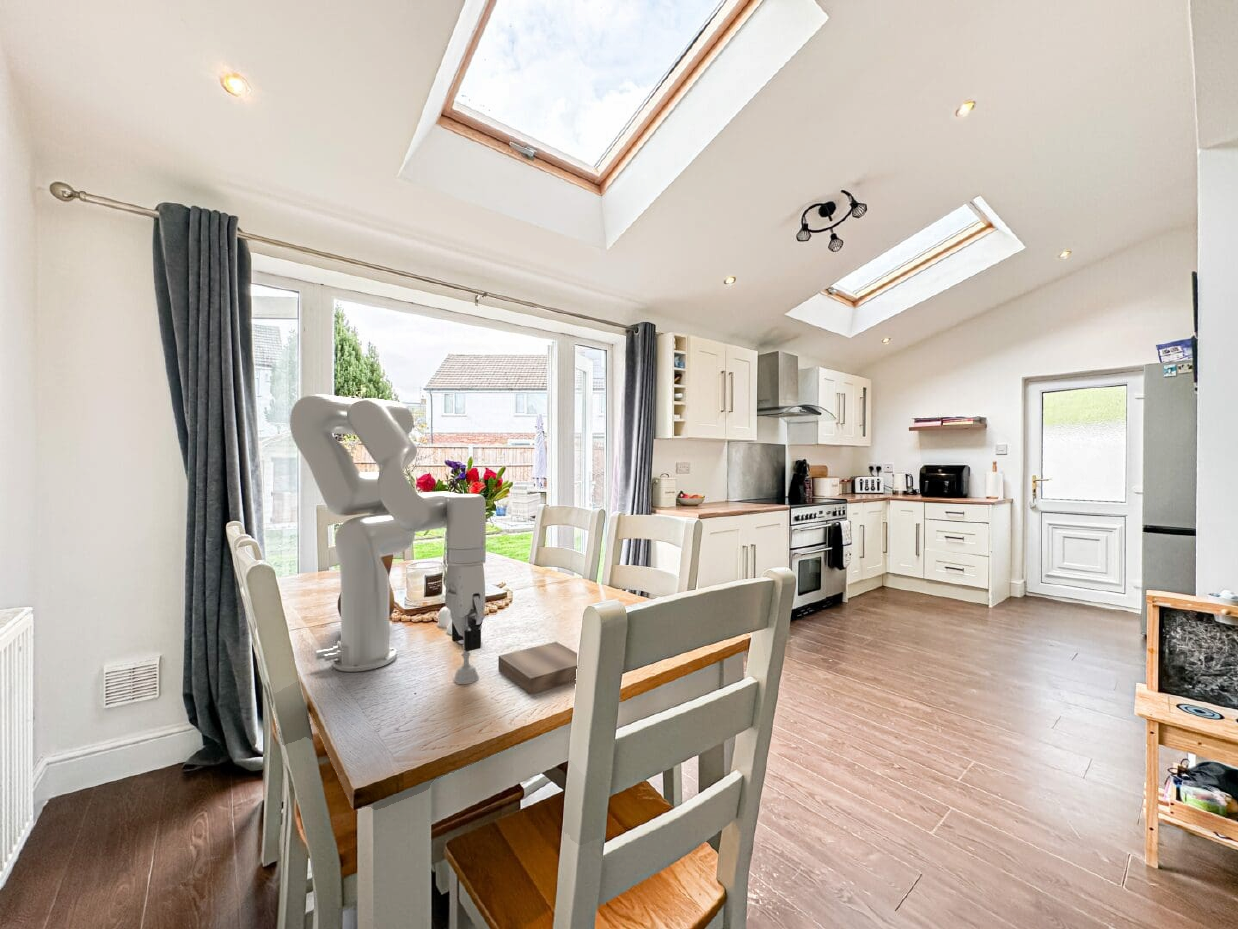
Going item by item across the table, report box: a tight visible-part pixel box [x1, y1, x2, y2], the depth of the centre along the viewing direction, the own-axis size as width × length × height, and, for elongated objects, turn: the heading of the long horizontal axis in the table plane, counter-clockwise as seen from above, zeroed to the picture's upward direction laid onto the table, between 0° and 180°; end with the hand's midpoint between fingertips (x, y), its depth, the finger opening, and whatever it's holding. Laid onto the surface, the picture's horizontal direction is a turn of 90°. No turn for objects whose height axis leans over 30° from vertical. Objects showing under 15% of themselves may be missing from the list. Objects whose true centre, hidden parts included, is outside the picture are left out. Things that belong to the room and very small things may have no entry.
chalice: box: [448, 590, 480, 685], centre depth 105 cm, size 7×7×18 cm
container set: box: [437, 605, 464, 645], centre depth 133 cm, size 20×5×6 cm, turn 36°
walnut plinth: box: [497, 641, 577, 695], centre depth 108 cm, size 14×14×3 cm
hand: (466, 643), depth 105 cm, fingers open, 5 cm apart
